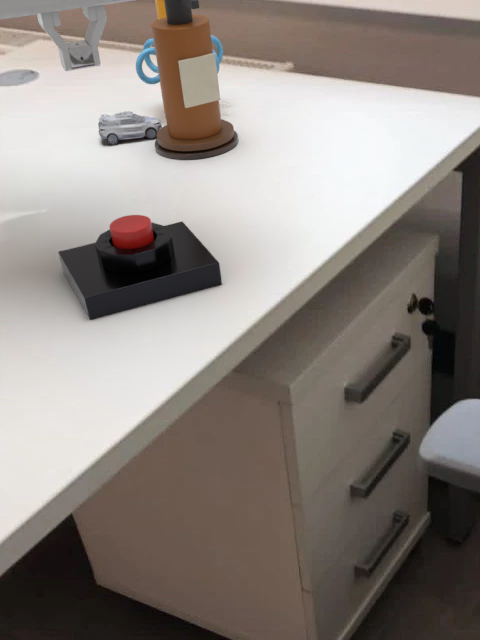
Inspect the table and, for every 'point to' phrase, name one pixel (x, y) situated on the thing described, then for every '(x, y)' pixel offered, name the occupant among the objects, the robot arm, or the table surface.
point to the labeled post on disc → (188, 80)
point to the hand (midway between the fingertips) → (81, 67)
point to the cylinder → (148, 51)
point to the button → (131, 232)
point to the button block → (139, 270)
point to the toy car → (127, 126)
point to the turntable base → (197, 154)
